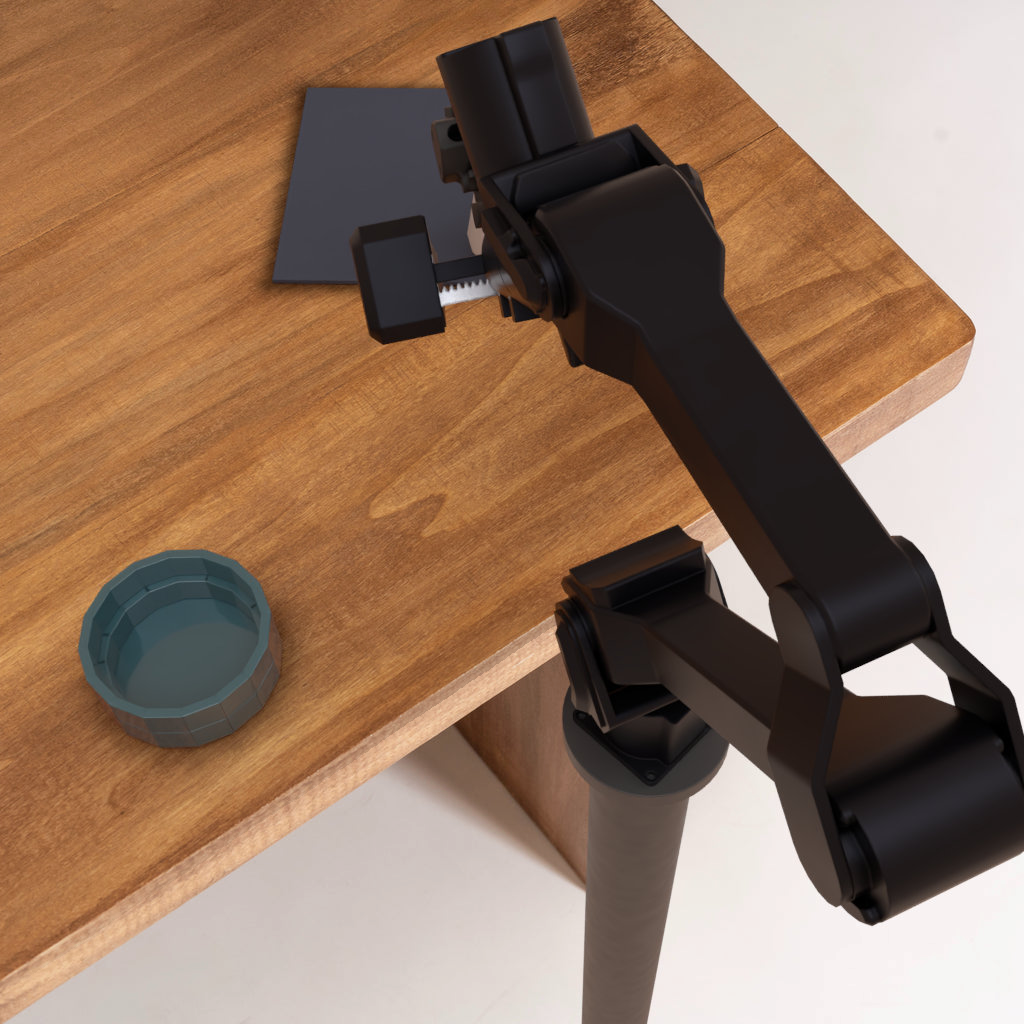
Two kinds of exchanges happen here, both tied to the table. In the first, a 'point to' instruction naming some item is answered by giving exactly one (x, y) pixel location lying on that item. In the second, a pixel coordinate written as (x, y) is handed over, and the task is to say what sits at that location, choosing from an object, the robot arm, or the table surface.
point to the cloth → (366, 181)
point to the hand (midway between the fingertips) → (510, 251)
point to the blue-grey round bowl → (181, 648)
